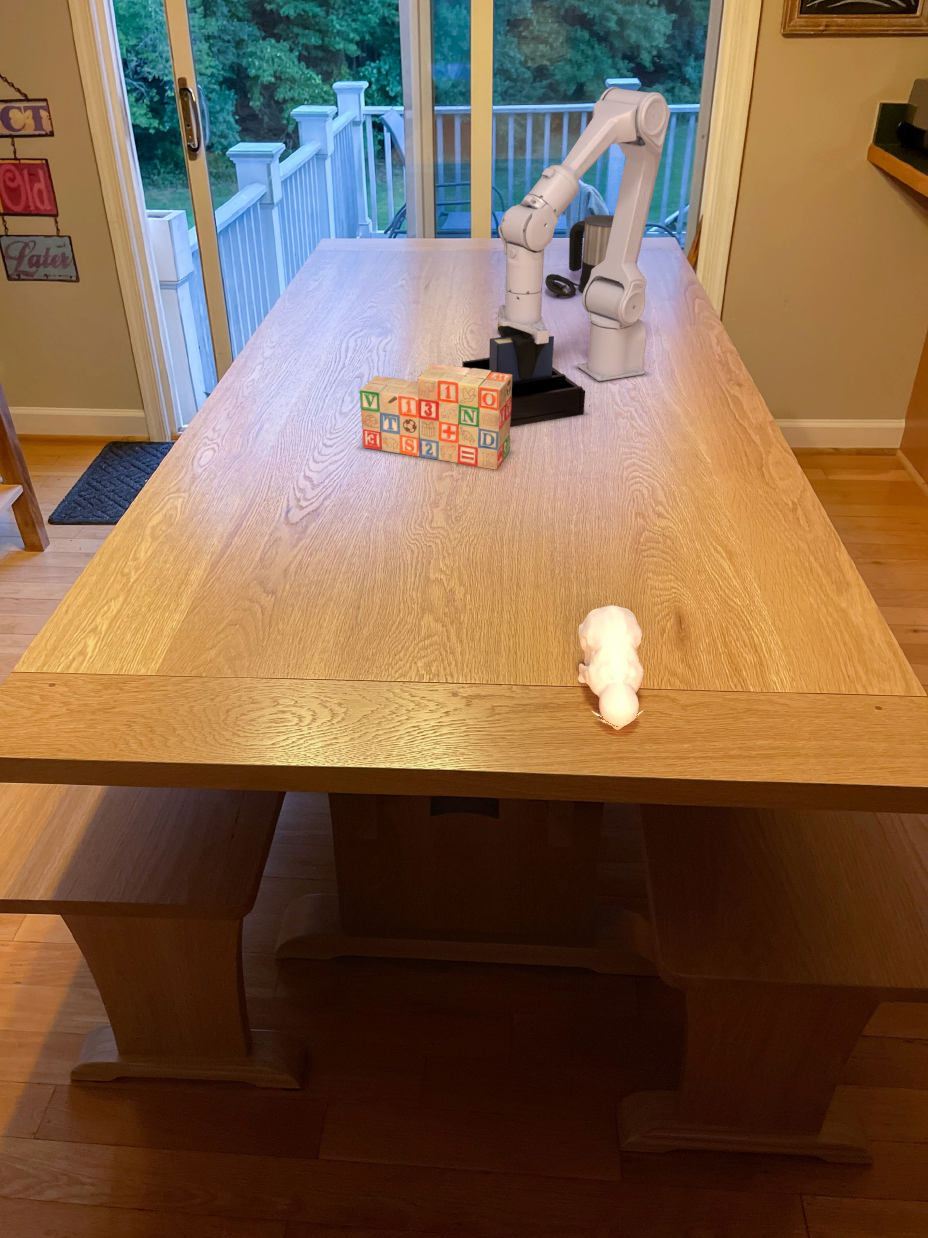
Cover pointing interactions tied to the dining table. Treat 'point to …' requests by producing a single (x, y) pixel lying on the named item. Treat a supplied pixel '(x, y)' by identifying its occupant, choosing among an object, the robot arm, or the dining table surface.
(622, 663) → the white animal figurine
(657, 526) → the dining table surface
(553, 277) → the milk frother
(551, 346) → the book
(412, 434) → the stack of blocks
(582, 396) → the rack
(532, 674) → the dining table surface
